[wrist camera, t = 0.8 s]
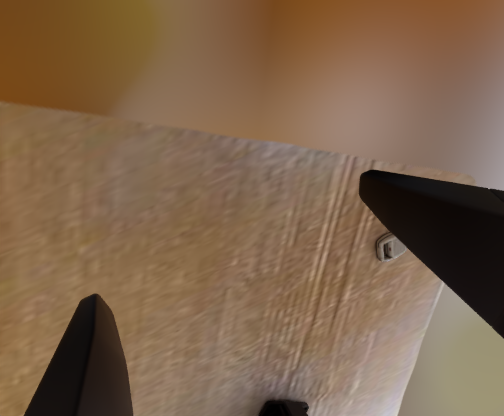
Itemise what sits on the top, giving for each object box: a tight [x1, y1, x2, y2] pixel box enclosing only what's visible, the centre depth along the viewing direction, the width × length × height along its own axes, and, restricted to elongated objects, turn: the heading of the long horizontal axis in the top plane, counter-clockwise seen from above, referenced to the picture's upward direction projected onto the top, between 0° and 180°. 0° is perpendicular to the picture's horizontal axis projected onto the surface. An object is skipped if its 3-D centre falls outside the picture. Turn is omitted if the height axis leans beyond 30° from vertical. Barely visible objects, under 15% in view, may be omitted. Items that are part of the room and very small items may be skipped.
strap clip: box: [377, 233, 407, 262], centre depth 34 cm, size 8×3×4 cm, turn 105°
